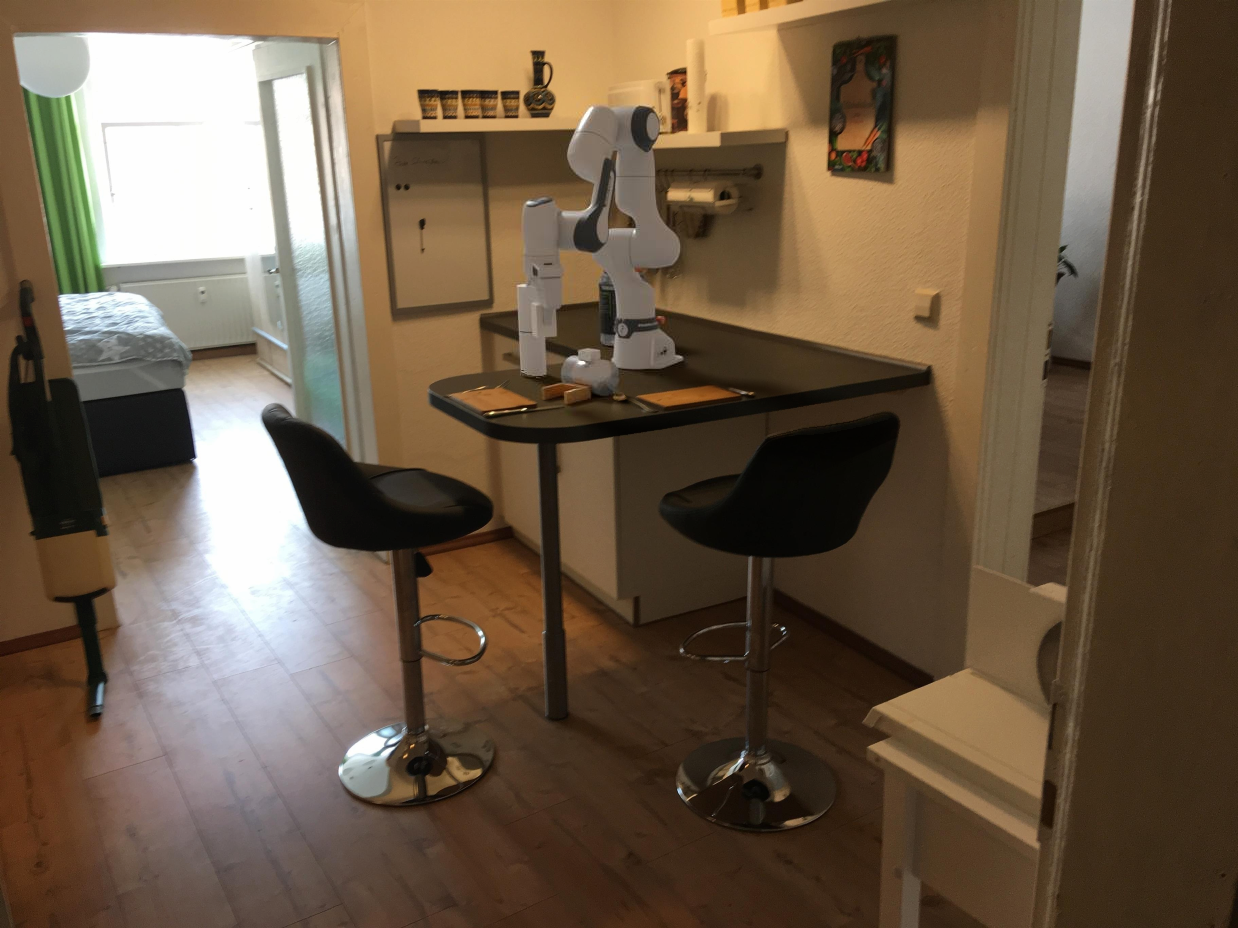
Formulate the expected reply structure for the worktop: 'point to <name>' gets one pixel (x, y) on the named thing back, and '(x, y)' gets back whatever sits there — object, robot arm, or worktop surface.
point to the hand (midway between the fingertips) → (544, 323)
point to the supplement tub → (609, 307)
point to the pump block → (537, 322)
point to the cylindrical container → (529, 338)
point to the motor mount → (584, 377)
